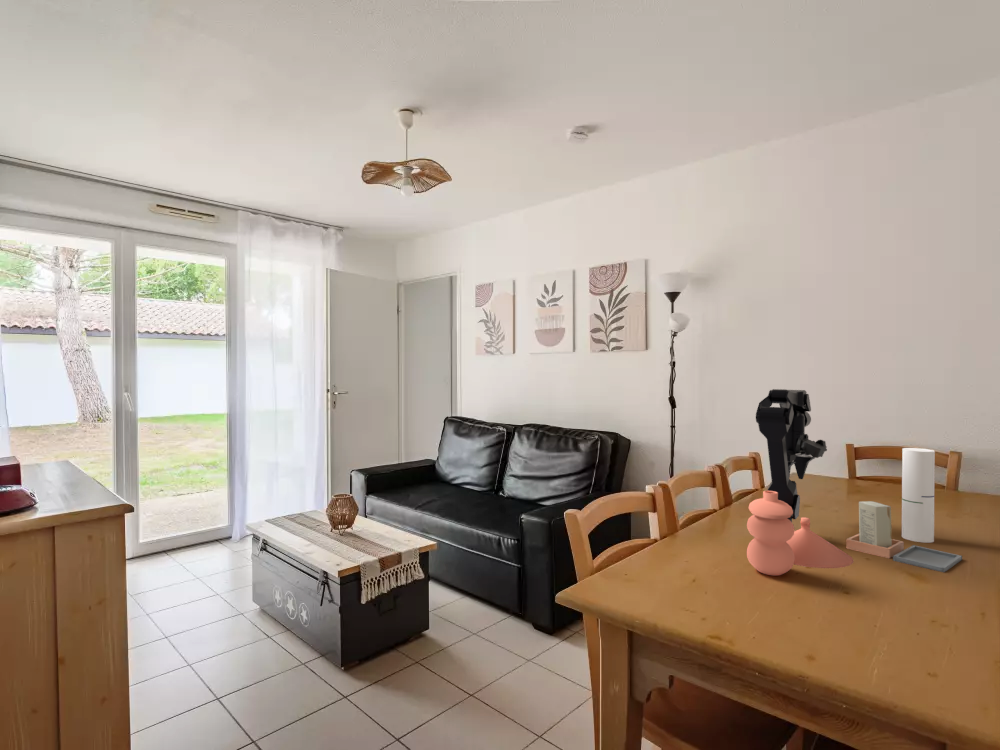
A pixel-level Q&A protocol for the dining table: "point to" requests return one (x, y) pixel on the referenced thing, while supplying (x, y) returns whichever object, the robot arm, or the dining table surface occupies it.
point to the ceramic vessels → (786, 540)
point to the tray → (927, 558)
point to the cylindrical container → (918, 494)
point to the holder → (874, 547)
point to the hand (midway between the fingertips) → (793, 480)
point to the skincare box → (875, 524)
